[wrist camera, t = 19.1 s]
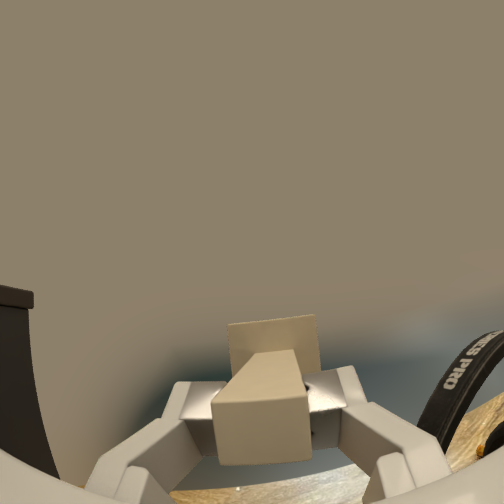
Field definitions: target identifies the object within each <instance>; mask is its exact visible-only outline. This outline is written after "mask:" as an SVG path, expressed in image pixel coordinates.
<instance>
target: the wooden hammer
mask: <svg viewBox="0 0 504 504" xmlns="http://www.w3.org/2000/svg"><path fill="white" fill-rule="evenodd" d="M227 331H228V341H229V350H230V359H231V368H232V377H233V378H232V379H231V381H230V382H229V383H228V384H227V385H226V386H225V387H224V388H223V389H222V390H221V391H220V392H219V393H218V394H217V395H216V396H215V397H214V398H213V399H212V401H211V402H210V406H211V413H212V420H213V426H214V433H215V439H216V445H217V451H218V457H219V462H220V464H221V465H263V464H279V463H290V462H300V461H307V460H311V459H312V444H311V429H310V416H309V404H308V395H307V392H306V388H305V385H304V383H303V381H302V377H301V374H307V373H314V372H320V371H321V366H320V356H319V346H318V336H317V327H316V320H315V315H314V314H312V315H305V316H297V317H290V318H282V319H273V320H265V321H256V322H246V323H236V324H227Z"/></svg>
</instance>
